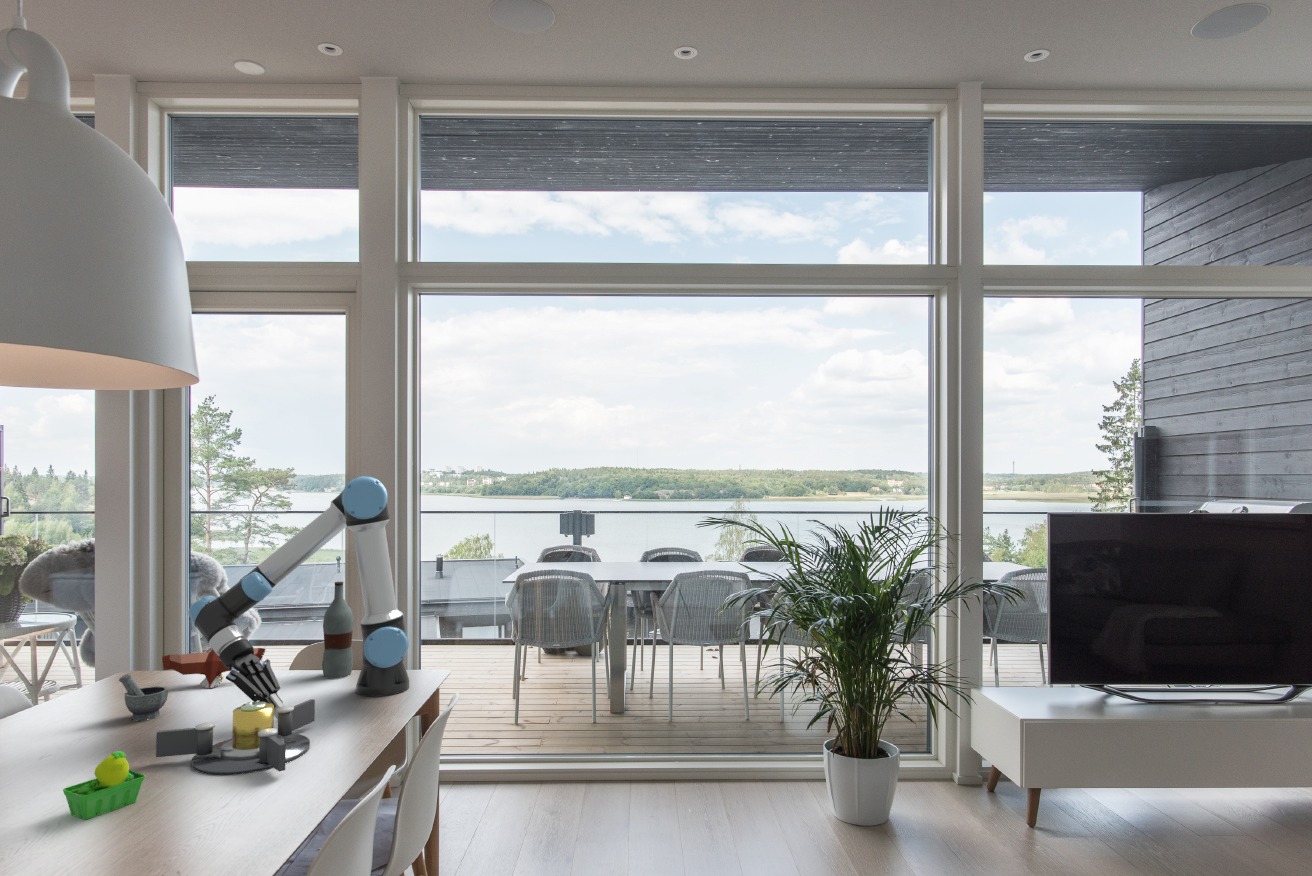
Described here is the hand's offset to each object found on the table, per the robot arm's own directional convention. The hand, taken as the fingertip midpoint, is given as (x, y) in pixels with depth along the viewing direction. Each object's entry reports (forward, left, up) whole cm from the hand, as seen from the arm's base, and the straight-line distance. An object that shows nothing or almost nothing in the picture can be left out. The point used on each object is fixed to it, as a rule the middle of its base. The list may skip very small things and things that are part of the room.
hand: (284, 716), depth 191 cm
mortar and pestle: (+39, -21, -3) cm, 44 cm away
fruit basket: (+23, +41, -3) cm, 47 cm away
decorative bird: (+31, -53, -3) cm, 61 cm away
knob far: (+17, +17, -2) cm, 24 cm away
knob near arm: (-4, +5, -2) cm, 7 cm away
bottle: (-5, -53, -3) cm, 53 cm away
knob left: (-4, +29, -2) cm, 30 cm away
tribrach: (+3, +17, -3) cm, 18 cm away
